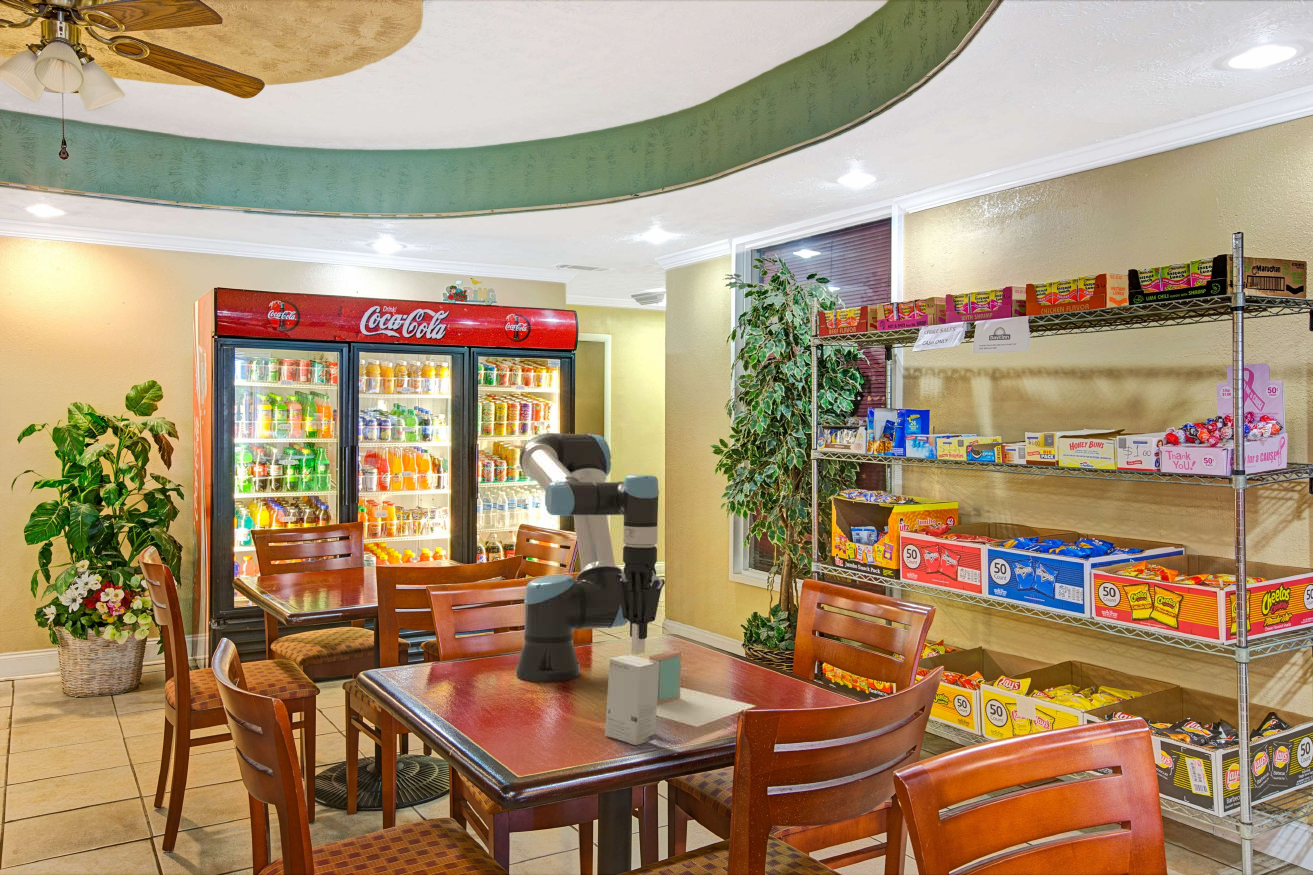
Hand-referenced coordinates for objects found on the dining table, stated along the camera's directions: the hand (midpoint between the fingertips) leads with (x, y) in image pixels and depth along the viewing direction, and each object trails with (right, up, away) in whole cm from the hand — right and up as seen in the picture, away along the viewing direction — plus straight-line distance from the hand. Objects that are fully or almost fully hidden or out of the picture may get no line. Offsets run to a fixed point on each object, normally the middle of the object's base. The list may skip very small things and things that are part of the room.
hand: (638, 652), depth 196 cm
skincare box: (-1, -10, -27) cm, 29 cm away
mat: (+9, -10, -7) cm, 16 cm away
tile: (+6, -9, -5) cm, 12 cm away
